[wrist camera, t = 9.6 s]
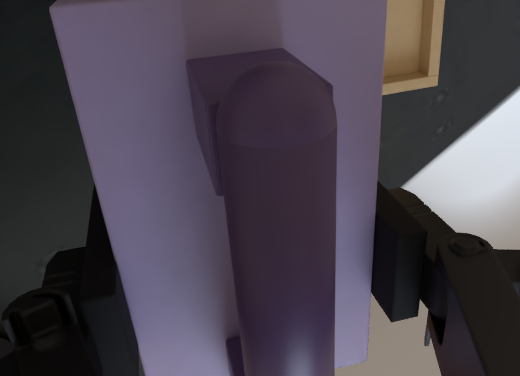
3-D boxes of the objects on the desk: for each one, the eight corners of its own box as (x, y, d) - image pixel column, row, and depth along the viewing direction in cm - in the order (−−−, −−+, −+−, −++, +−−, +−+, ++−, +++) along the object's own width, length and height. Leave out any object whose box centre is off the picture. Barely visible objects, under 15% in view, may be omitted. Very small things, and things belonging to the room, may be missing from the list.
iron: (77, -21, 13) (-8, 54, 5) (303, -41, 14) (530, -7, 6) (162, 353, 20) (185, 639, 12) (310, 319, 21) (423, 559, 13)
